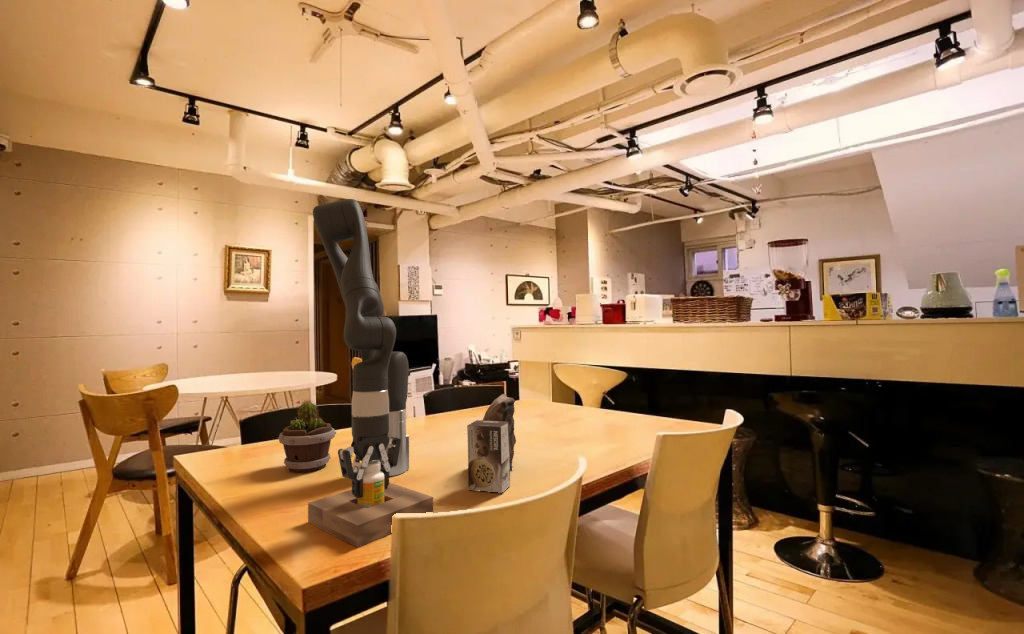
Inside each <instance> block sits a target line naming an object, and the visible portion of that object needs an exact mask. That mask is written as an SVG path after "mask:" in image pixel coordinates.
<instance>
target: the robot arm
mask: <svg viewBox="0 0 1024 634" xmlns="http://www.w3.org/2000/svg"><path fill="white" fill-rule="evenodd" d="M312 217H313V222H314V224H315V228H316V230H317V234H318V236H319V238H320V240H321V242H322V245H323V248H324V250H325V253H326V255H327V257H328V260H329V262H330V265H331V267H332V270H333V272H334V276H335V277H336V281H337V285H338V288H339V292H340V294H341V297H342V300H343V303H344V307H345V322H344V326H343V340H344V343H345V344H346V345H347V347H348V348H349V349H350V350H353V351H359V354H360V358H361V361H359V362H357V363H356V364H354V365H353V369H352V397H351V436H352V442H351V444H350V446H348V447H345V448H339V449H338V451H337V454H338V455H337V456H338V459H339V460H338V462H339V465H340V471H341V476H342V477H343V478H346V479H348V480H351V489H352V494H353V495H354V496H355V497H357V498H361V497H363V479H361V478H362V475H363V472H364V470H365V469H366V468H367V465H368V462H371V461H373V460H376V461H380V462H381V469H380V471H381V472H383V473H384V490H386V489H387V488H388V485H389V483H390V477H392V476H397V475H401V474H403V473H406V471H407V470H410V435H409V434H407V402H408V401H407V400H408V396H409V393H408V390H409V368H410V367H409V366H410V365H409V360H408V356H407V355H406V354H405V352H403V351H393V349H394V346H395V342H396V339H397V327H396V325H395V323H394V321H393V320H392V319H391V318H390V317H388V316H384V312H385V307H384V302H383V299H382V296H381V292H380V289H379V285H378V284H377V282H376V281H375V279H374V275H373V274H374V273H373V269H372V262H371V253H370V252H371V251H370V244H369V238H368V231H367V230H368V229H367V225H366V220H365V216H364V213H363V210H362V208H361V206H360V204H359V202H358V201H357V200H356V199H353V198H348V199H340V200H337V201H332V202H328V203H323V204H319V205H316V206H313V209H312ZM348 240H353V245H352V248H351V250H350V253H349V254H348V256H347V255H346V254H345V253H344V252H343V250H342V249H341V247H340V245H339V242H345V241H348ZM353 454H354V456H353ZM353 457H354V458H353ZM352 458H353V461H352Z"/></svg>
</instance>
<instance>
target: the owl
mask: <svg viewBox="0 0 1024 634" xmlns="http://www.w3.org/2000/svg"><path fill="white" fill-rule="evenodd" d="M515 402H516V400H515V399H514V398H513V397H508V396H507V394H504V393H502V394H500V395H499V396H498V397H497V398H495V399H494V400H493V401H492V403H491V404H490V405H489V407H488V408H487V409H486V411H485V413H484V416H483V418H482V420H484V421H505V422H509V450H510V471H511V470H512V468H513V459H514V456H515V445H516V442H517V439H516V435H515V419H514V414H515ZM511 472H512V471H511Z"/></svg>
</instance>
